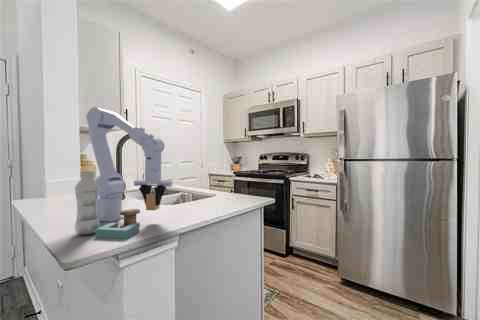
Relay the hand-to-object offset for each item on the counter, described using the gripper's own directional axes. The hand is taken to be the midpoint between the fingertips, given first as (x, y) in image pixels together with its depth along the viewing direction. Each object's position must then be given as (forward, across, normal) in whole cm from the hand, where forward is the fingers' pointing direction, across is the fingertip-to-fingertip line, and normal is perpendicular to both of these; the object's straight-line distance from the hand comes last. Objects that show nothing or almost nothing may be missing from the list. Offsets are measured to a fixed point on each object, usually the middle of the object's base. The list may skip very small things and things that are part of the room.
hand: (152, 205), depth 84 cm
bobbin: (+7, -5, -7) cm, 11 cm away
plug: (+2, 0, 0) cm, 2 cm away
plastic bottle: (+7, -14, -15) cm, 22 cm away
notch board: (+7, -4, -14) cm, 16 cm away
